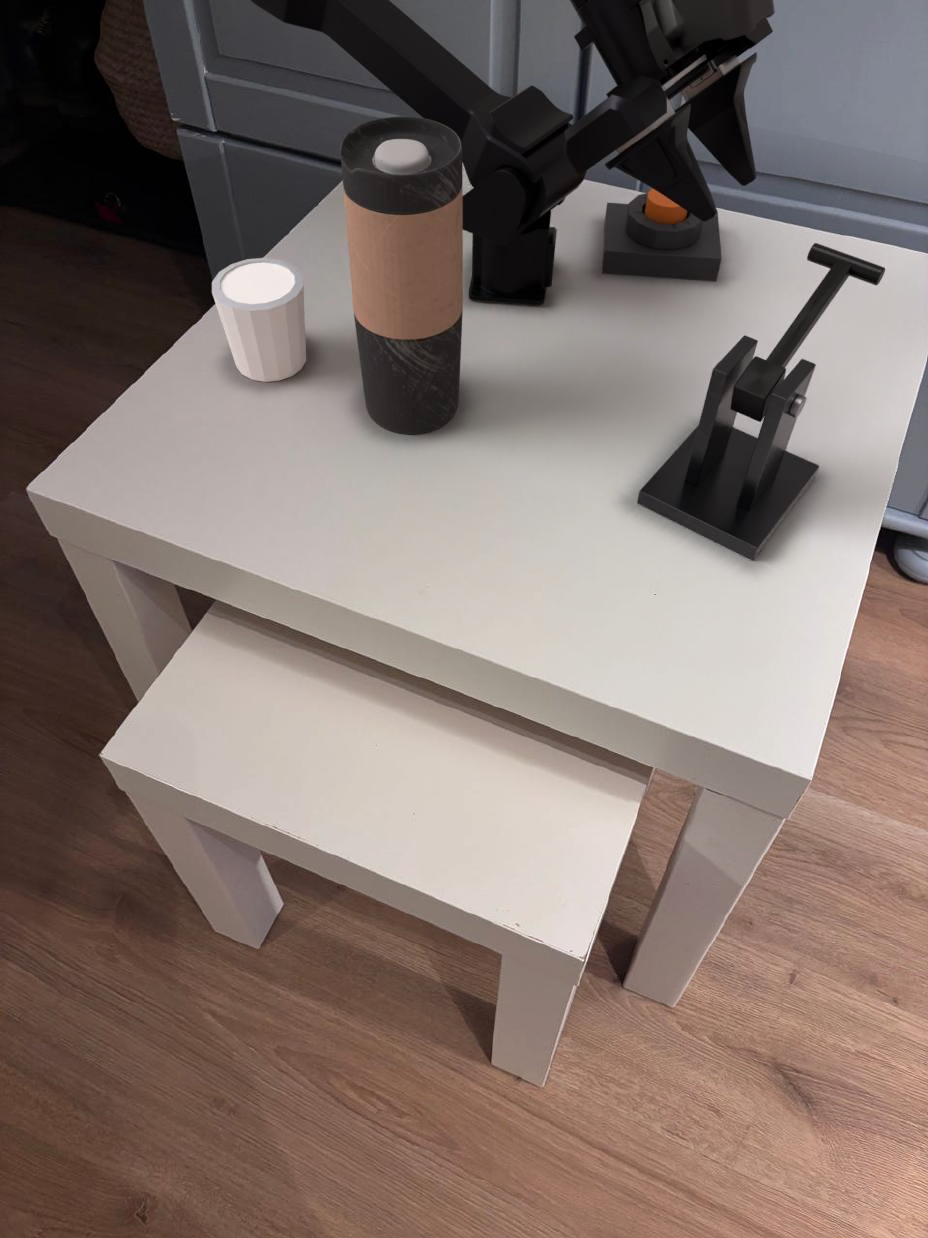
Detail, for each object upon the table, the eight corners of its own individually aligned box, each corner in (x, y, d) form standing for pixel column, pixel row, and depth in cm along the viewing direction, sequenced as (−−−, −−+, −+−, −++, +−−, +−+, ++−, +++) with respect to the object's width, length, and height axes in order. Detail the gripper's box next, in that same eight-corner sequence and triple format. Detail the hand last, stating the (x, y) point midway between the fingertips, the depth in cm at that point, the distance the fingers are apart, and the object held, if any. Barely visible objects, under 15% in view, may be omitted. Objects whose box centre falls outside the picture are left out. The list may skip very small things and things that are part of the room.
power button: (644, 224, 85) (647, 205, 83) (644, 202, 87) (647, 183, 86) (686, 227, 84) (690, 208, 83) (685, 205, 87) (689, 186, 85)
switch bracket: (703, 427, 74) (736, 302, 65) (815, 477, 71) (864, 353, 62) (636, 503, 69) (662, 378, 60) (752, 561, 66) (797, 438, 57)
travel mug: (475, 384, 77) (481, 126, 61) (442, 447, 72) (439, 185, 57) (384, 363, 78) (367, 106, 62) (346, 423, 74) (317, 163, 58)
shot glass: (329, 346, 80) (320, 269, 74) (285, 396, 76) (272, 318, 70) (257, 324, 81) (243, 247, 76) (210, 372, 77) (192, 294, 72)
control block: (601, 273, 86) (607, 231, 83) (604, 224, 91) (609, 182, 88) (716, 281, 86) (726, 239, 83) (712, 231, 91) (721, 190, 87)
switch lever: (812, 258, 68) (818, 231, 66) (881, 283, 66) (889, 256, 64) (710, 401, 64) (713, 377, 62) (780, 431, 62) (785, 408, 60)
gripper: (630, -59, 52) (768, 204, 57) (781, -144, 62) (889, 88, 66) (503, 60, 61) (631, 278, 66) (651, -30, 71) (754, 167, 75)
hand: (731, 199), depth 68 cm, fingers open, 6 cm apart
